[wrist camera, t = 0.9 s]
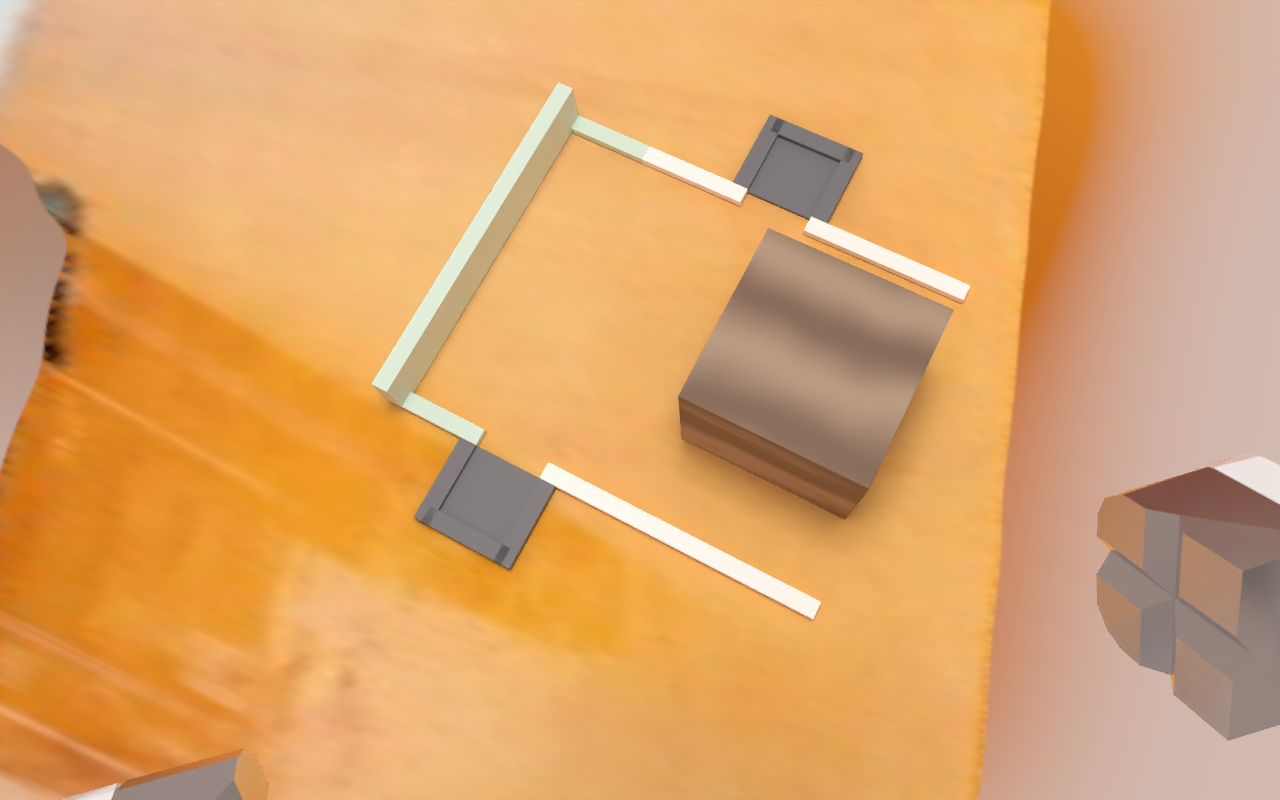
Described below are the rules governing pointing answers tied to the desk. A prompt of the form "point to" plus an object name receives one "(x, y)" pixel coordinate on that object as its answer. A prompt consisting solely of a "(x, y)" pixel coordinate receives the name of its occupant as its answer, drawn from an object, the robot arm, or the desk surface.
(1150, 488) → the robot arm
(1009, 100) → the desk surface
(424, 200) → the desk surface
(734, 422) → the walnut block
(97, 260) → the desk surface
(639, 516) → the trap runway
